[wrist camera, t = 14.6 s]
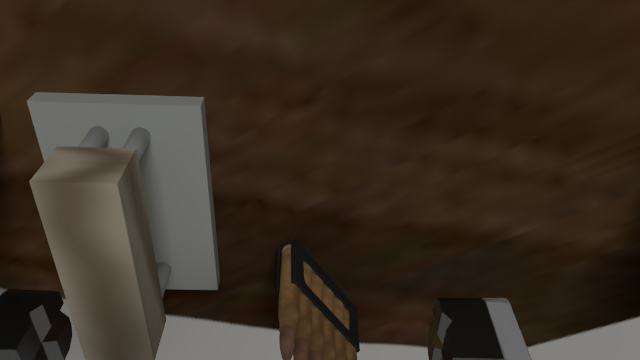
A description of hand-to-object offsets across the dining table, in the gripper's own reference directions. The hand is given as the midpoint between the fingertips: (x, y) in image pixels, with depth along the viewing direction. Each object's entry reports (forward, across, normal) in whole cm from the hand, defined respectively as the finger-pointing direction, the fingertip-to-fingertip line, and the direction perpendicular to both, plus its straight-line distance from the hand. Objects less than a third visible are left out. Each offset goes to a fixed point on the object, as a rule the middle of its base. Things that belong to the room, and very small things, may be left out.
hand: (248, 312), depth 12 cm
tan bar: (+21, +13, +17) cm, 30 cm away
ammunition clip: (+28, -2, +26) cm, 38 cm away
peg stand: (+27, +13, +17) cm, 35 cm away
